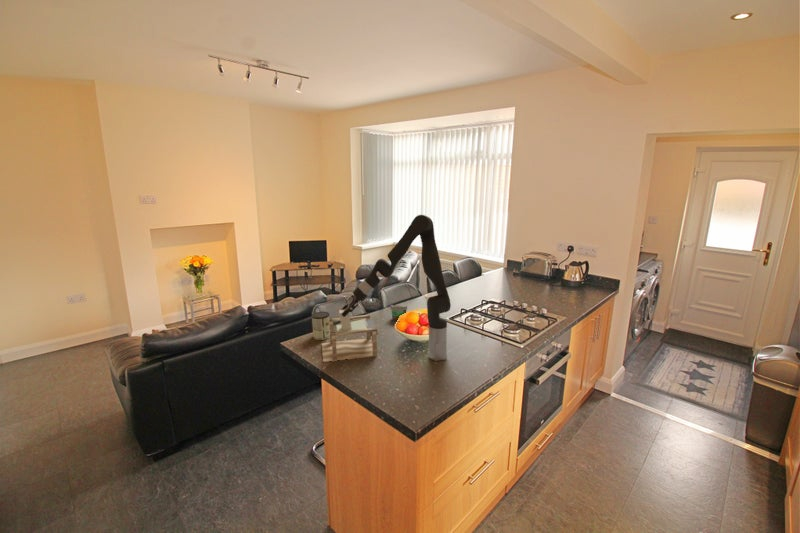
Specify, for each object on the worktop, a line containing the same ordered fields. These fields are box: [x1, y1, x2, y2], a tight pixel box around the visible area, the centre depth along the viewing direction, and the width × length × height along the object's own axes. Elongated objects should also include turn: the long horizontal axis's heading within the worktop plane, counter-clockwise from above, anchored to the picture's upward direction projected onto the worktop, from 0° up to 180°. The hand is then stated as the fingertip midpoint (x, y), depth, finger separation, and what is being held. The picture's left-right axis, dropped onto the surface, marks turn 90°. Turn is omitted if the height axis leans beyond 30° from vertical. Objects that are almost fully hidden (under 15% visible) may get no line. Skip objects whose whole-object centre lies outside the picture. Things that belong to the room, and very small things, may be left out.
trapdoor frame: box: [321, 314, 378, 363], centre depth 198 cm, size 23×28×15 cm
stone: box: [338, 309, 352, 331], centre depth 196 cm, size 5×5×10 cm
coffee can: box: [311, 311, 330, 341], centre depth 217 cm, size 10×10×14 cm
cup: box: [424, 292, 441, 318], centre depth 248 cm, size 12×12×15 cm
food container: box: [389, 303, 408, 322], centre depth 242 cm, size 12×6×10 cm, turn 62°
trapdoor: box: [335, 318, 379, 338], centre depth 198 cm, size 18×20×4 cm
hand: (342, 313), depth 195 cm, fingers open, 6 cm apart
